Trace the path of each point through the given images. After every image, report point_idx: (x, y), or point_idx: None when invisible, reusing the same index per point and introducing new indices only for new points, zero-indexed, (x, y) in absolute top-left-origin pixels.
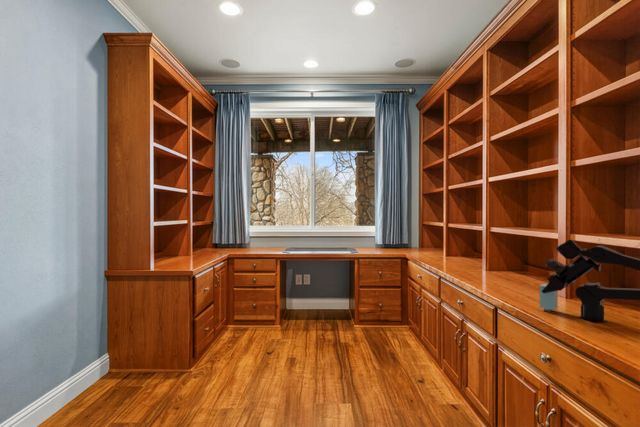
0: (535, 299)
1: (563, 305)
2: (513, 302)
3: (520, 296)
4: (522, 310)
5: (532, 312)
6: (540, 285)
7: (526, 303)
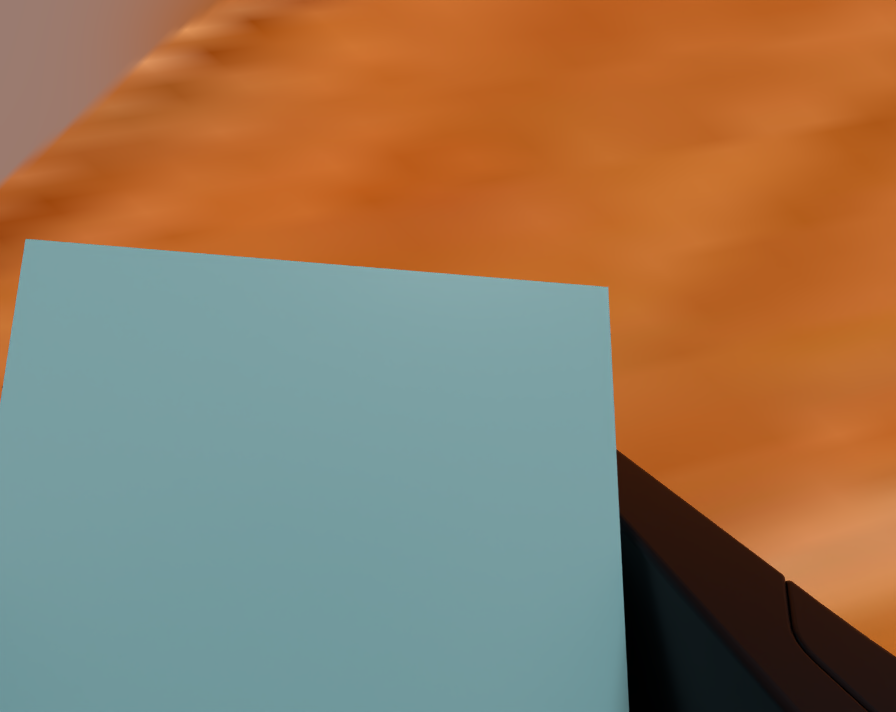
0: (848, 216)
1: (850, 589)
2: (440, 13)
3: (837, 40)
4: (21, 195)
5: (6, 346)
6: (92, 258)
7: (533, 163)
